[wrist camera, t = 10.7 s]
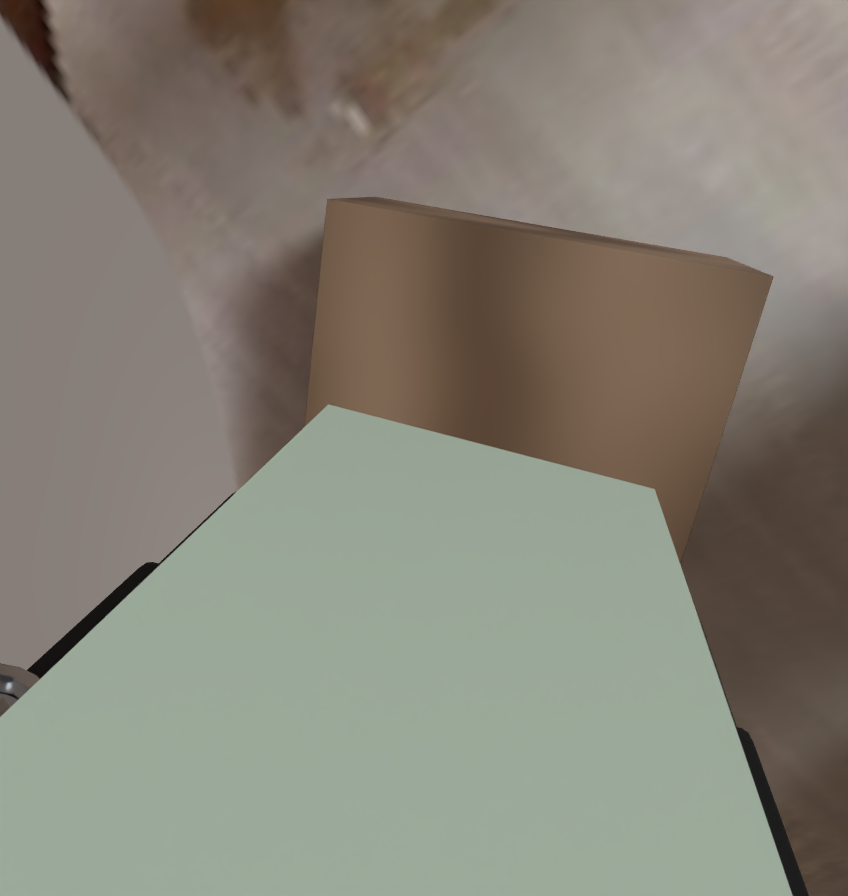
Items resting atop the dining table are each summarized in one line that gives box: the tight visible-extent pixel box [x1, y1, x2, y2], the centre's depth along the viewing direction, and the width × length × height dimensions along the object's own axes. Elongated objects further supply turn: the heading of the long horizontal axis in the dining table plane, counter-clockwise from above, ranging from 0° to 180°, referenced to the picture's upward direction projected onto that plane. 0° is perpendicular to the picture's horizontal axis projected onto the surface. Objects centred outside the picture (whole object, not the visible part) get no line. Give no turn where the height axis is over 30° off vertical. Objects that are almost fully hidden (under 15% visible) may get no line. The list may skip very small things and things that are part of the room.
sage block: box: [0, 404, 793, 896], centre depth 8 cm, size 5×5×8 cm
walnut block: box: [304, 197, 773, 563], centre depth 20 cm, size 10×10×5 cm
